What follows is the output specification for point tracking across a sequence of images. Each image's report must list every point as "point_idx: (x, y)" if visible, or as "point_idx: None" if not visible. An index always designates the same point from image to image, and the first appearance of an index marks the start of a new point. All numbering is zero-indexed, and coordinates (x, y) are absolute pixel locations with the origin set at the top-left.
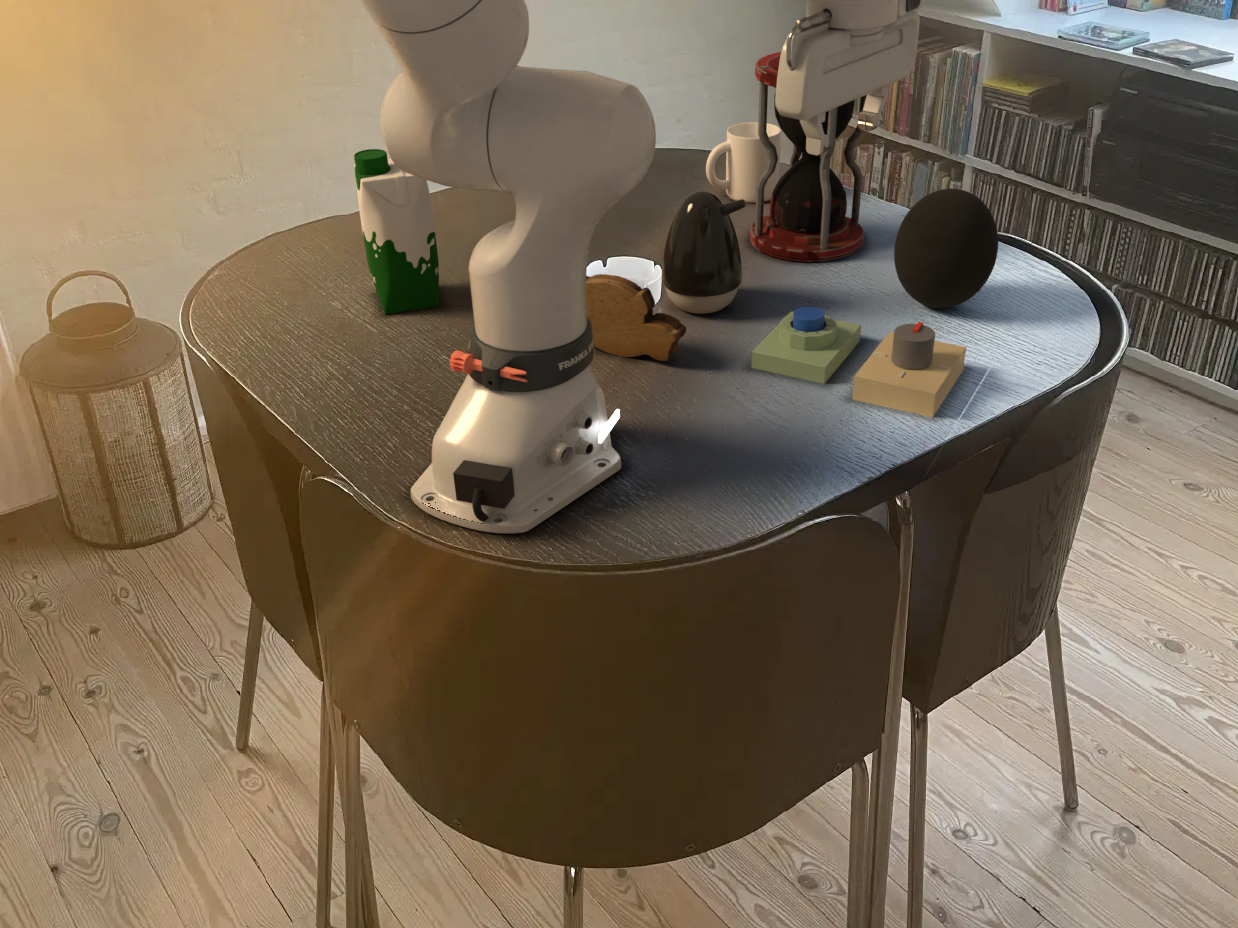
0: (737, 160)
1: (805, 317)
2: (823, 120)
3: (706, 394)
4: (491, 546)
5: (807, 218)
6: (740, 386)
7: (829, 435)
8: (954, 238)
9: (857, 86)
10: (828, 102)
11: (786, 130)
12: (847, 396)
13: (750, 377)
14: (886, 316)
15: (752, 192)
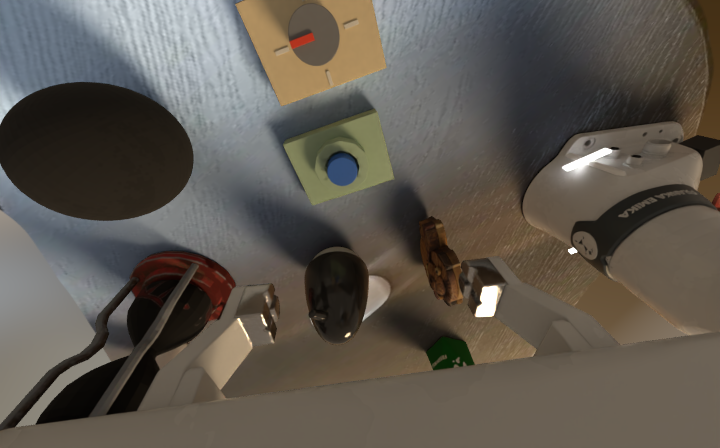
0: None
1: (351, 169)
2: (563, 325)
3: (446, 168)
4: (690, 126)
5: (193, 295)
6: (421, 158)
7: (451, 36)
8: (116, 124)
9: (447, 435)
10: (662, 380)
11: None
12: (378, 75)
13: (403, 163)
14: (225, 155)
15: (180, 349)
